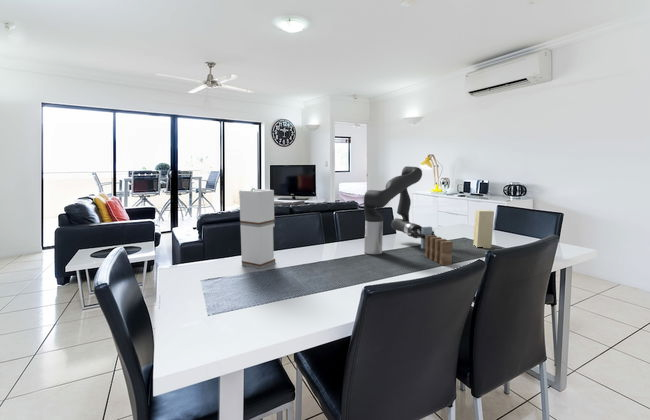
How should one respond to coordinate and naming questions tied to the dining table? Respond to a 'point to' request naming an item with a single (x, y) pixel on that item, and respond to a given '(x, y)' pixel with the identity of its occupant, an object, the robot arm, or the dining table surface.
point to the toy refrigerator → (483, 228)
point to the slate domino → (426, 232)
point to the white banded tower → (257, 227)
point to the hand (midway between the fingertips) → (429, 236)
